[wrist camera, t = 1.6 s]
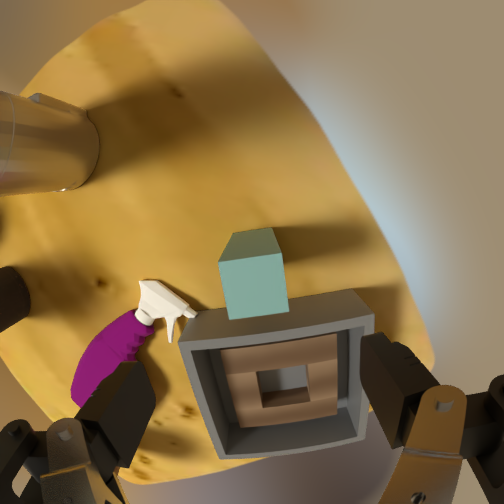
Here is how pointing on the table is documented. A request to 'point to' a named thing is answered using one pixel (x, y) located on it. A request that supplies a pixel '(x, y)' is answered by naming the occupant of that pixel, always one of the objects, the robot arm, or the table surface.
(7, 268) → the container
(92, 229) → the table surface
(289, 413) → the plate
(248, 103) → the table surface
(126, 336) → the spray bottle
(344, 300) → the crate
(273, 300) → the peg
